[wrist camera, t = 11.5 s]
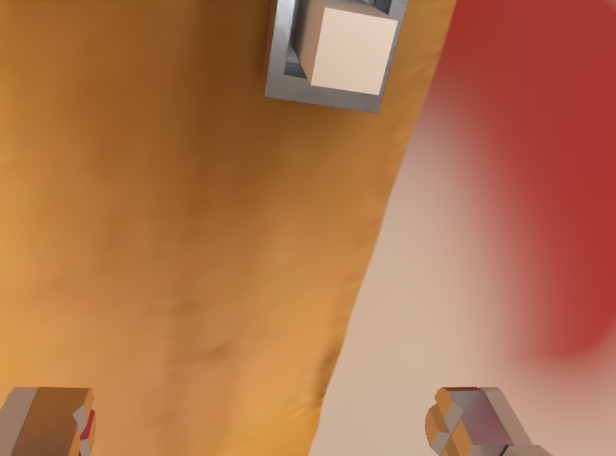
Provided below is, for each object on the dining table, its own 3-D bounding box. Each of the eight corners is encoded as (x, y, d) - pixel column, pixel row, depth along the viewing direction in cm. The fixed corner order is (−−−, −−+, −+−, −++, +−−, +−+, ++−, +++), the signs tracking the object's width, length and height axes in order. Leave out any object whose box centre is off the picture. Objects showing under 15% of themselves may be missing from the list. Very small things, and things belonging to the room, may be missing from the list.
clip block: (302, -13, 28) (325, 7, 21) (359, -2, 29) (398, 21, 22) (293, 49, 30) (310, 85, 23) (346, 57, 31) (378, 95, 24)
